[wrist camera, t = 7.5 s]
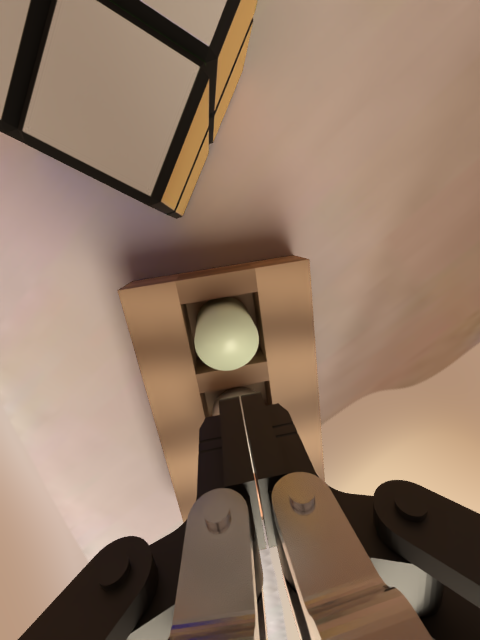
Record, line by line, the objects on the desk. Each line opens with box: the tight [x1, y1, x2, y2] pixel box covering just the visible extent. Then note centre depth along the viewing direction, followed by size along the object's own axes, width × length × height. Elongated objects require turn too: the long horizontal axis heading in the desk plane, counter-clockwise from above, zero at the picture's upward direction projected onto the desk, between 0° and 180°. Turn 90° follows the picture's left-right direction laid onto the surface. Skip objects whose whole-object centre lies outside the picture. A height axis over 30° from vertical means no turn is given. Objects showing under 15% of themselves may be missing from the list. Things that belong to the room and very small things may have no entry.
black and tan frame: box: [0, 0, 257, 219], centre depth 13 cm, size 10×10×10 cm
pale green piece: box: [194, 297, 259, 371], centre depth 19 cm, size 4×4×4 cm
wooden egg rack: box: [118, 255, 325, 522], centre depth 22 cm, size 21×12×4 cm, turn 8°
